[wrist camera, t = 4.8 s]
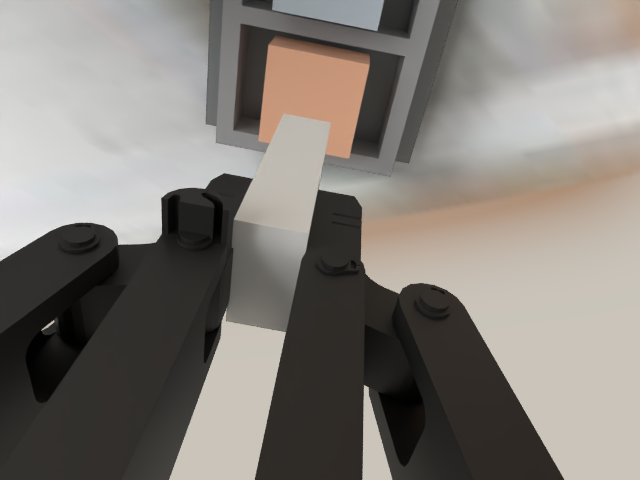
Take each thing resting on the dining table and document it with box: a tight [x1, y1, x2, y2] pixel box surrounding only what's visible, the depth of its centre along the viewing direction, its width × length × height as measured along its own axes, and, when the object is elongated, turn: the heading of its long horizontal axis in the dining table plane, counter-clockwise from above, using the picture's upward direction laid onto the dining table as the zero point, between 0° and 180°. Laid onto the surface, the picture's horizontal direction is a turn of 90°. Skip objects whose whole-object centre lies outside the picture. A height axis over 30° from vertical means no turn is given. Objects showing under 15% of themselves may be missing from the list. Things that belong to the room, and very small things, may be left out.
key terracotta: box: [258, 36, 370, 159], centre depth 21 cm, size 4×4×2 cm
